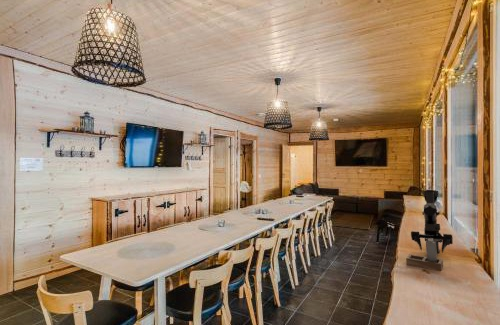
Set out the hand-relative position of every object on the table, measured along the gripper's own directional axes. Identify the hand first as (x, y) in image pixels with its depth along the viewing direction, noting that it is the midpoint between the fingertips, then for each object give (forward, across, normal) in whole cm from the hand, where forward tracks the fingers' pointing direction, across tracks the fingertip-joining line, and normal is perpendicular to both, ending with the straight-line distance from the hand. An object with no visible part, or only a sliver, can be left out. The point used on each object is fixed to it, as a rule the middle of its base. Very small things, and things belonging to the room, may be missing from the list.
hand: (431, 251), depth 143 cm
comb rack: (+5, -4, +7) cm, 9 cm away
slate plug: (+5, 0, +7) cm, 8 cm away
